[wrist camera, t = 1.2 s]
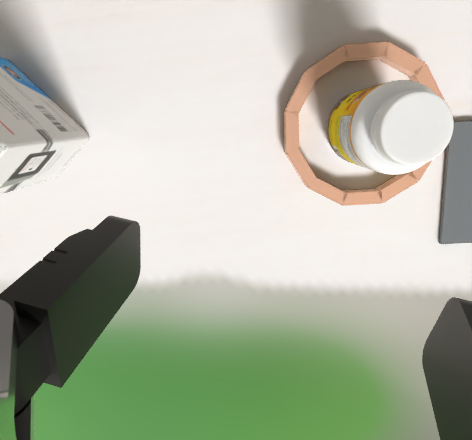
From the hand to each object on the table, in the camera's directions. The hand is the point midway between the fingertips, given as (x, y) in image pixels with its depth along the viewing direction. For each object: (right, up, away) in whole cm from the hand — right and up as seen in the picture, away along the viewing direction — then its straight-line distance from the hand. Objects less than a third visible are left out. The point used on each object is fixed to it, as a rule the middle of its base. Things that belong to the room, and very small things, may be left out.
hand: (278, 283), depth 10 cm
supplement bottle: (+9, +9, +20) cm, 24 cm away
